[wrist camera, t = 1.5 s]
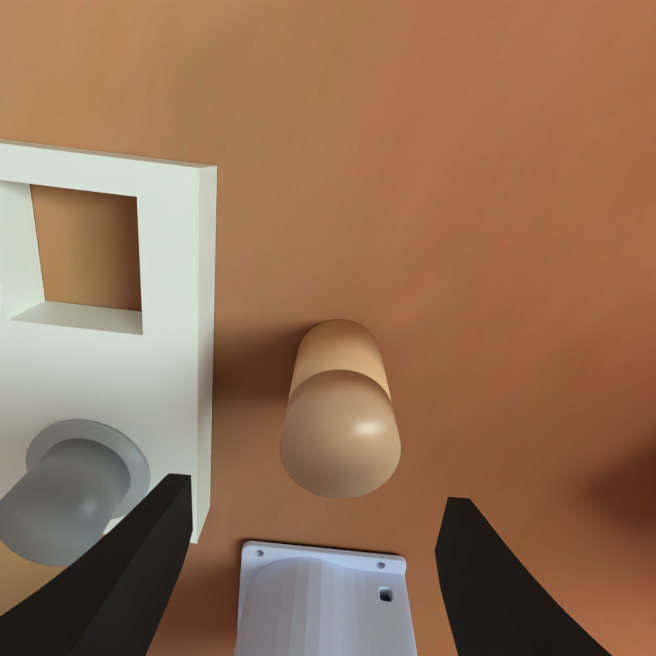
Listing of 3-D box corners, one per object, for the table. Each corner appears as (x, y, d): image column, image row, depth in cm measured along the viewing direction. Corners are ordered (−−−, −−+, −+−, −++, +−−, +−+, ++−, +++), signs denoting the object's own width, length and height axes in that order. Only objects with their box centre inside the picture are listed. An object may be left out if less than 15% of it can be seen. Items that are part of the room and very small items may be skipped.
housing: (216, 165, 18) (162, 172, 12) (210, 506, 25) (172, 610, 19) (-33, 134, 18) (-205, 127, 12) (29, 487, 24) (-63, 587, 19)
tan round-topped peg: (387, 324, 20) (411, 406, 14) (373, 398, 22) (389, 503, 15) (301, 314, 20) (284, 392, 14) (293, 390, 22) (275, 491, 15)
